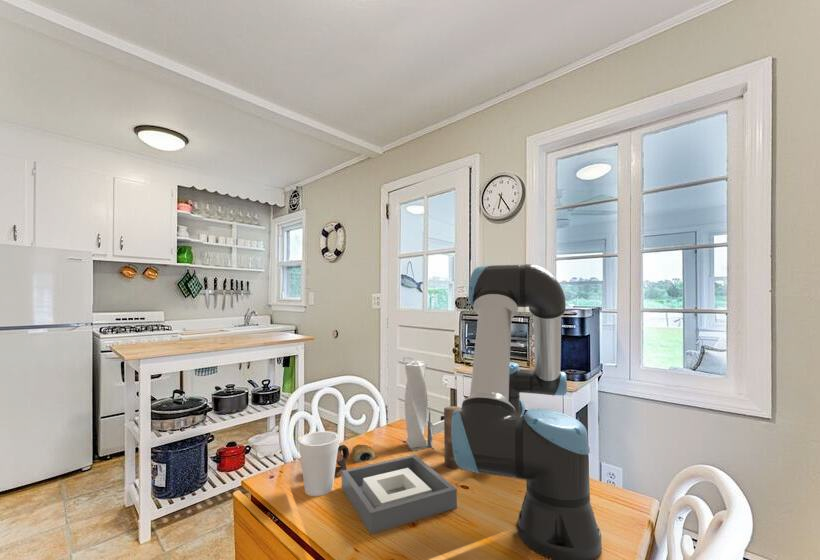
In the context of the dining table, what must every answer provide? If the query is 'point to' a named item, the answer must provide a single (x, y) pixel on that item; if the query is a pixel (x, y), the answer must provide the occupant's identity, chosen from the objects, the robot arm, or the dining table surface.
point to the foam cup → (318, 461)
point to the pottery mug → (342, 459)
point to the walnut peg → (449, 437)
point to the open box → (402, 510)
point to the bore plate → (393, 487)
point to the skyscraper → (417, 406)
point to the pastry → (362, 453)
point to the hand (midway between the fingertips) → (451, 435)
